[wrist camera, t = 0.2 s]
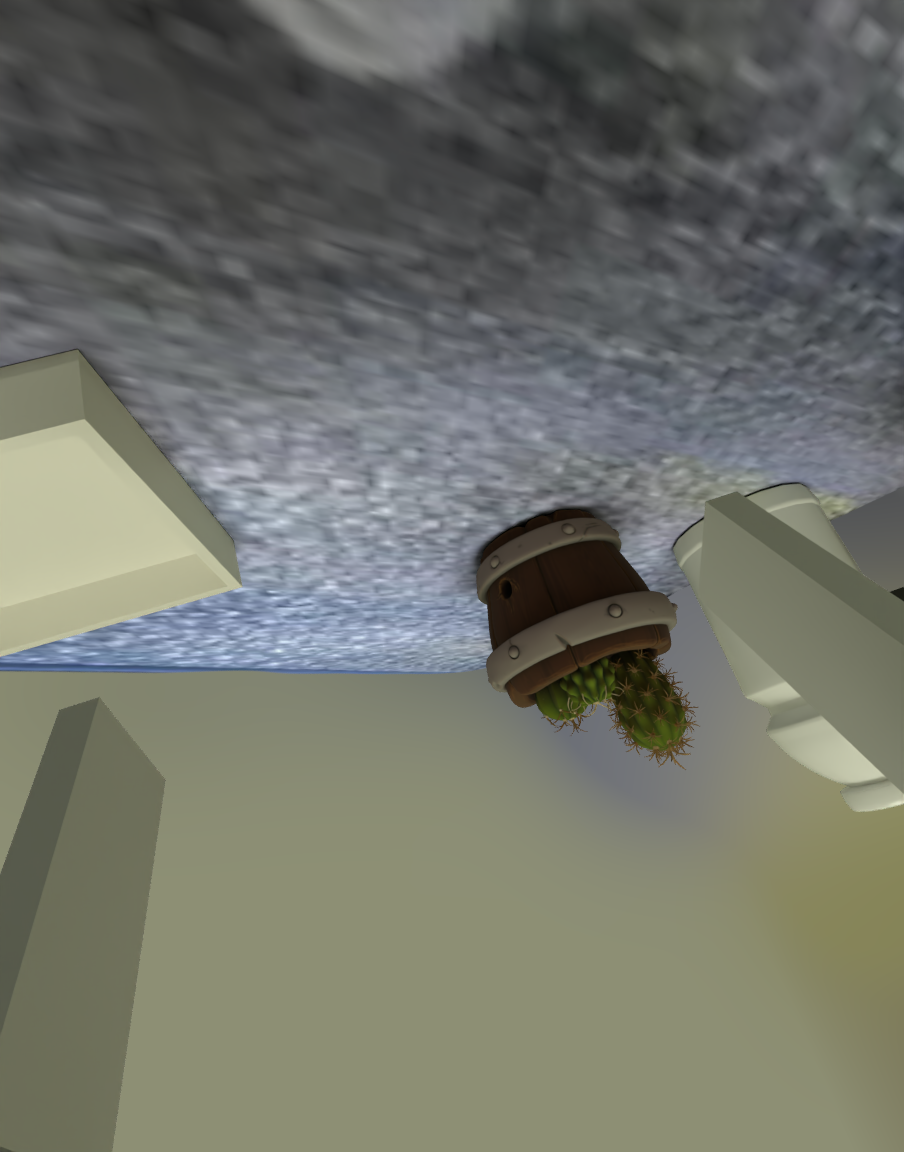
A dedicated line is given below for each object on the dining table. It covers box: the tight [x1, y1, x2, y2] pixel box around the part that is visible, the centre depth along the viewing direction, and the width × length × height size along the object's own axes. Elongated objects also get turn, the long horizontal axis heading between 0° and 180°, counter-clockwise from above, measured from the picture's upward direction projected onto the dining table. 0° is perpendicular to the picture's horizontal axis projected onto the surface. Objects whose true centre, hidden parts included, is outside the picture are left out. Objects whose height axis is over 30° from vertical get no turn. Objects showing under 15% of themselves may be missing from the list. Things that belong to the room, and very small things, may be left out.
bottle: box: [673, 484, 904, 812], centre depth 56 cm, size 14×14×28 cm
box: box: [0, 349, 242, 657], centre depth 26 cm, size 15×15×3 cm
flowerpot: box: [476, 510, 697, 769], centre depth 45 cm, size 14×15×20 cm
